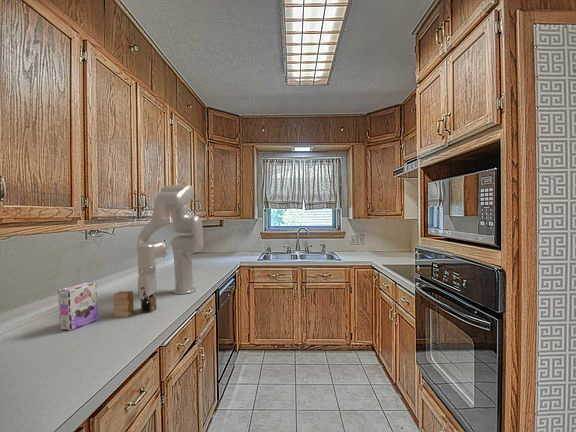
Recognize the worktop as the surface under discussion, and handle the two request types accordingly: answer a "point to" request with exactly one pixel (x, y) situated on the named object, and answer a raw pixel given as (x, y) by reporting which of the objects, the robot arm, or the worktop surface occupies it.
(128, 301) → the tower top
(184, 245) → the robot arm
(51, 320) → the worktop surface
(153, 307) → the walnut cube
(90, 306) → the candy box
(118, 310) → the tower base
